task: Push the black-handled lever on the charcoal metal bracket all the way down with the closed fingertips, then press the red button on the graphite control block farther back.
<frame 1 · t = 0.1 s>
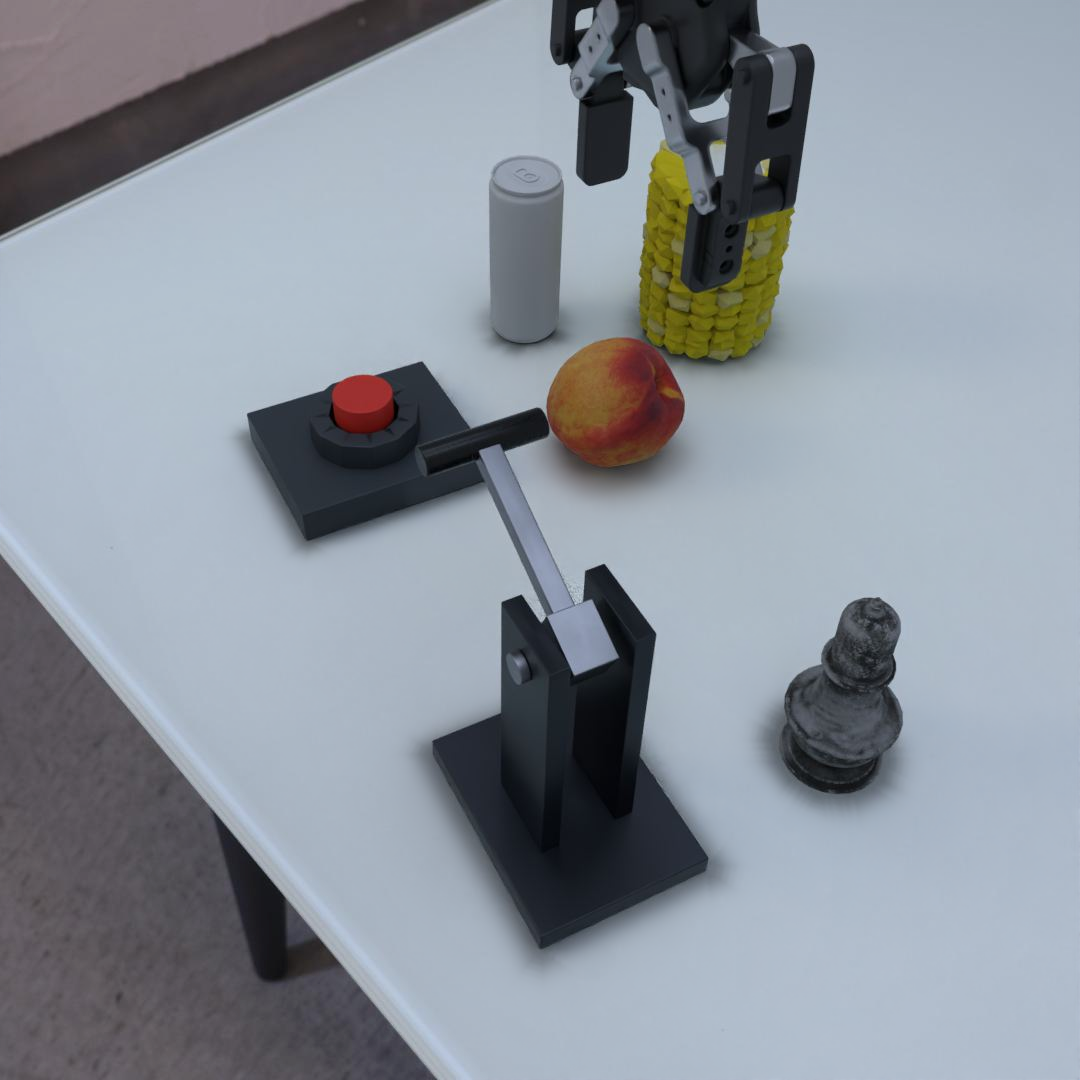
hand: (652, 229, 54), 26 cm above the table, tool pointing down, fingers open, 8 cm apart
fruit: (609, 453, 83), on the table
lever: (531, 547, 57), point 15 cm above the table, hinge at 25.0°
beverage can: (523, 328, 92), on the table
control block: (368, 459, 82), on the table
bracket: (565, 810, 65), on the table
button: (363, 404, 79), point 4 cm above the table, slide at 0.1 cm
food: (701, 333, 92), on the table
black chess piece: (829, 752, 68), on the table
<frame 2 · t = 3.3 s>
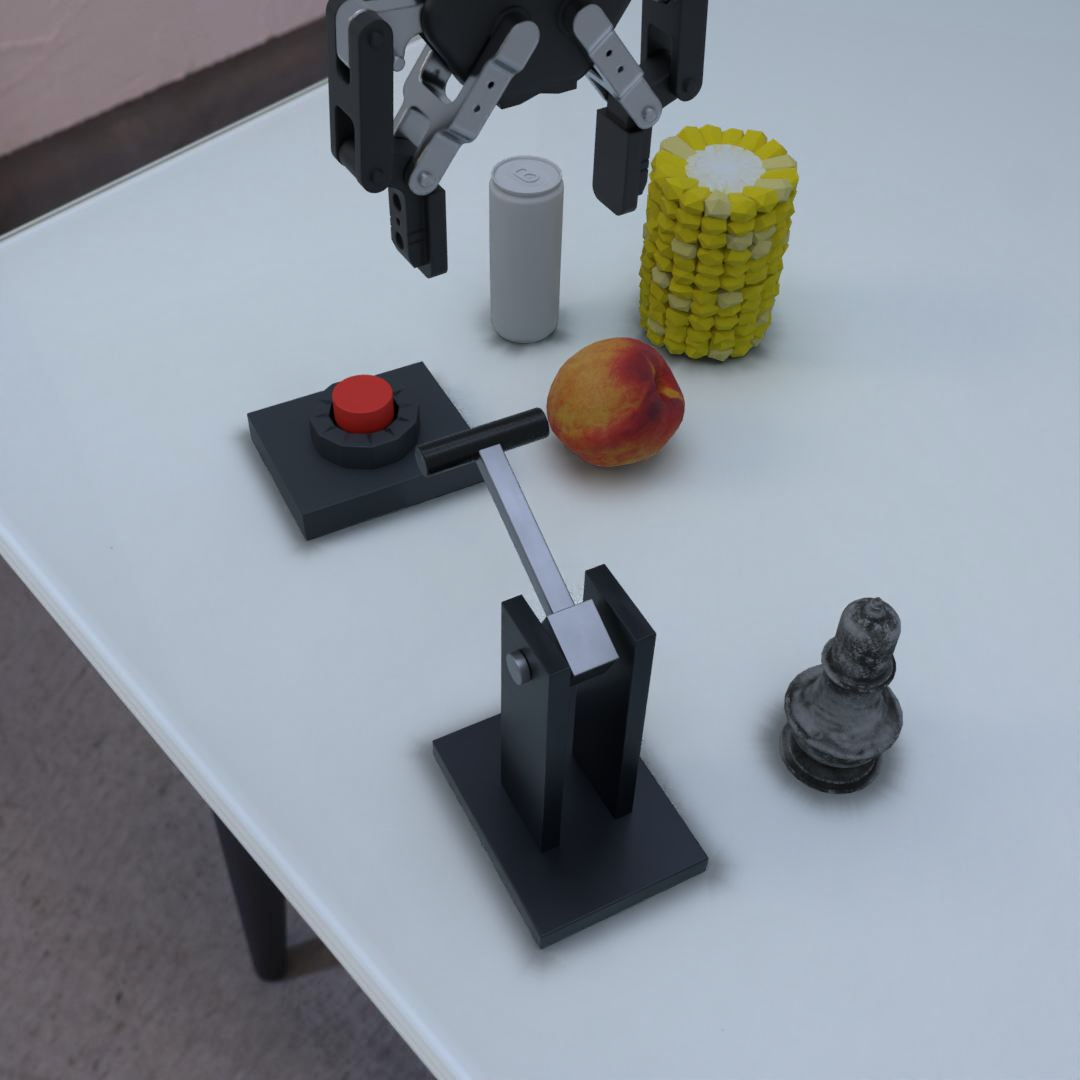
hand: (522, 234, 51), 28 cm above the table, tool pointing down, fingers open, 8 cm apart
nothing on the table moved.
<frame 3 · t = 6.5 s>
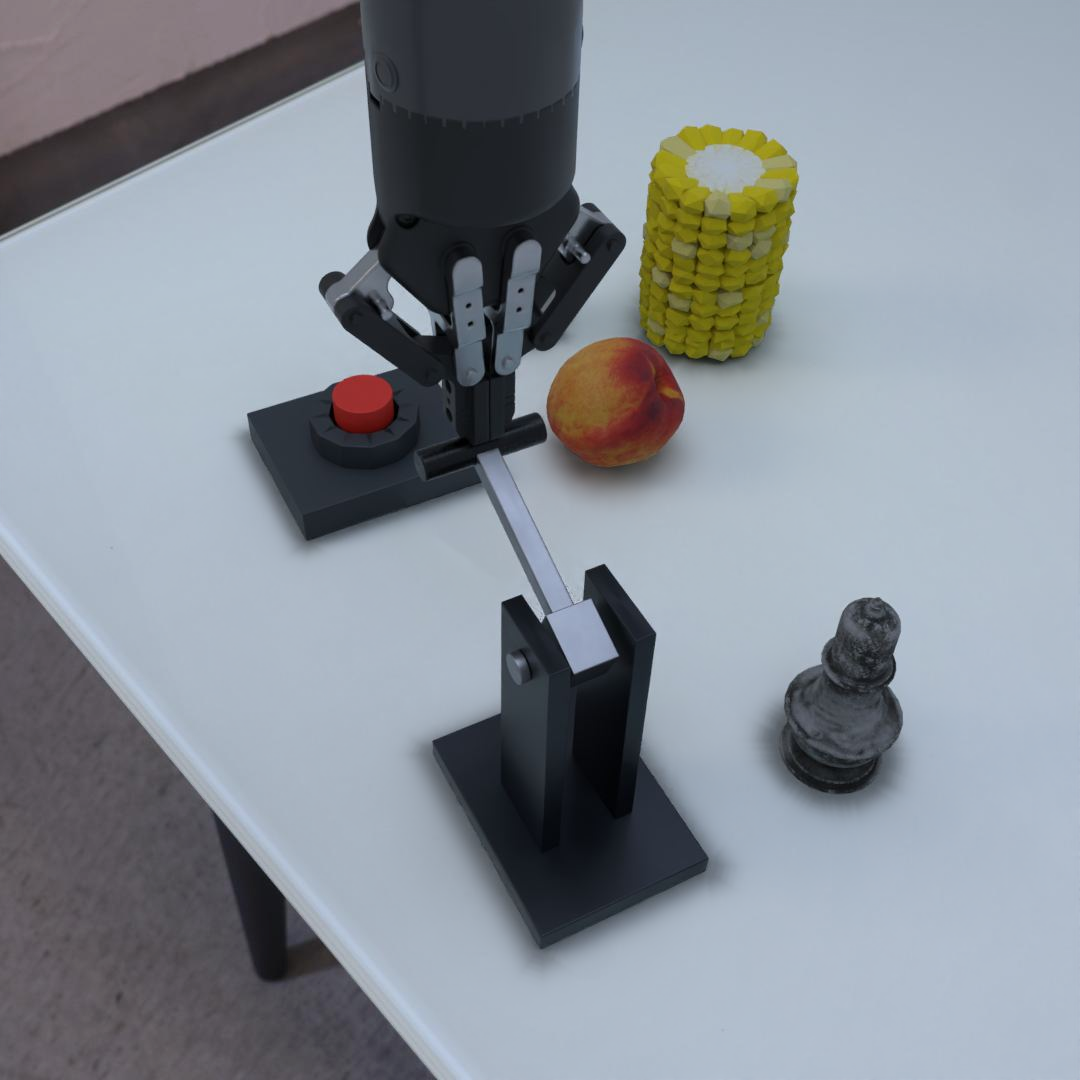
hand: (478, 430, 58), 18 cm above the table, tool pointing down, fingers closed
lever: (530, 549, 57), point 15 cm above the table, hinge at 22.2°, touching gripper
everything else where it was.
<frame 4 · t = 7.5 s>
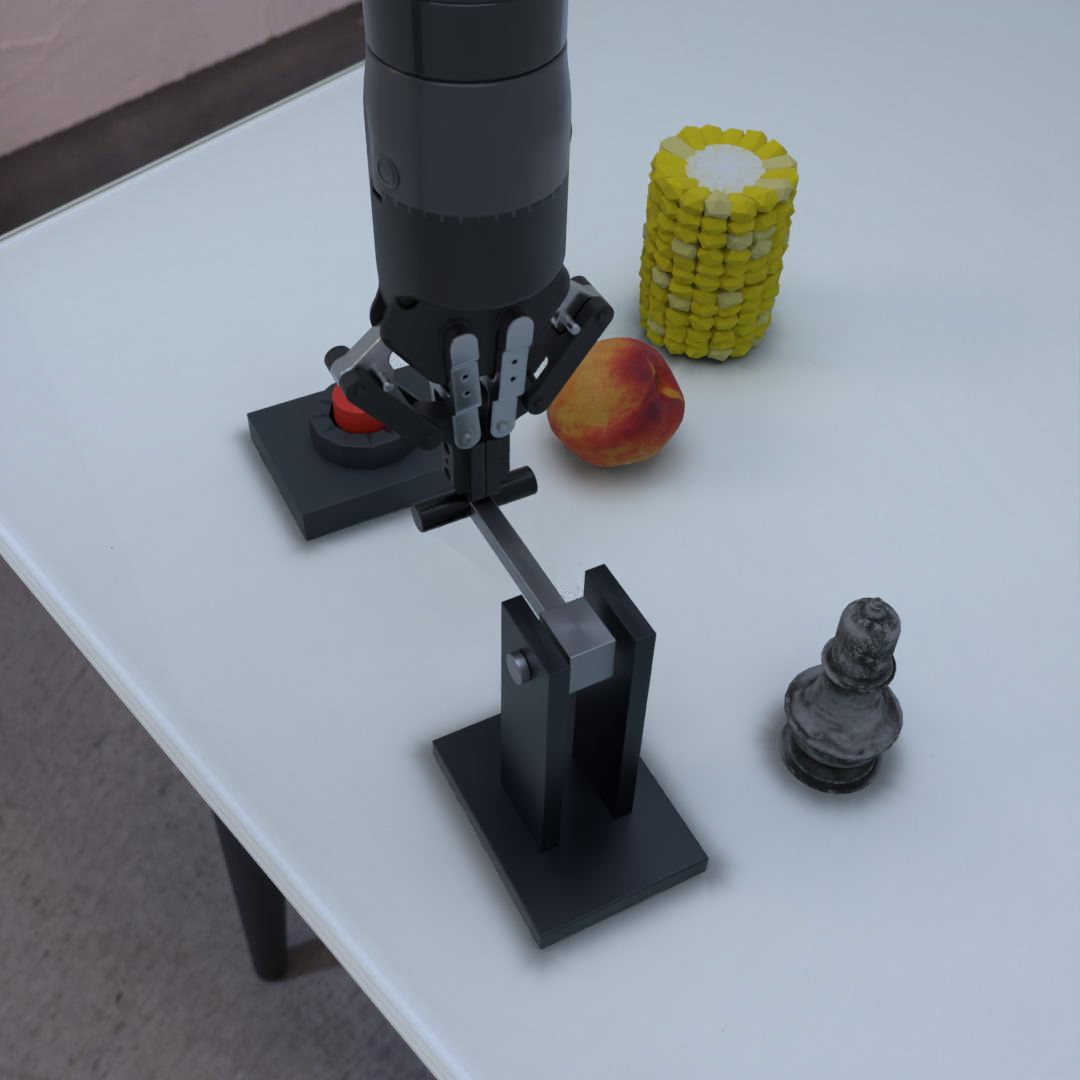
hand: (475, 486, 61), 14 cm above the table, tool pointing down, fingers closed
lever: (526, 572, 58), point 13 cm above the table, hinge at -0.9°, touching gripper
everything else where it was.
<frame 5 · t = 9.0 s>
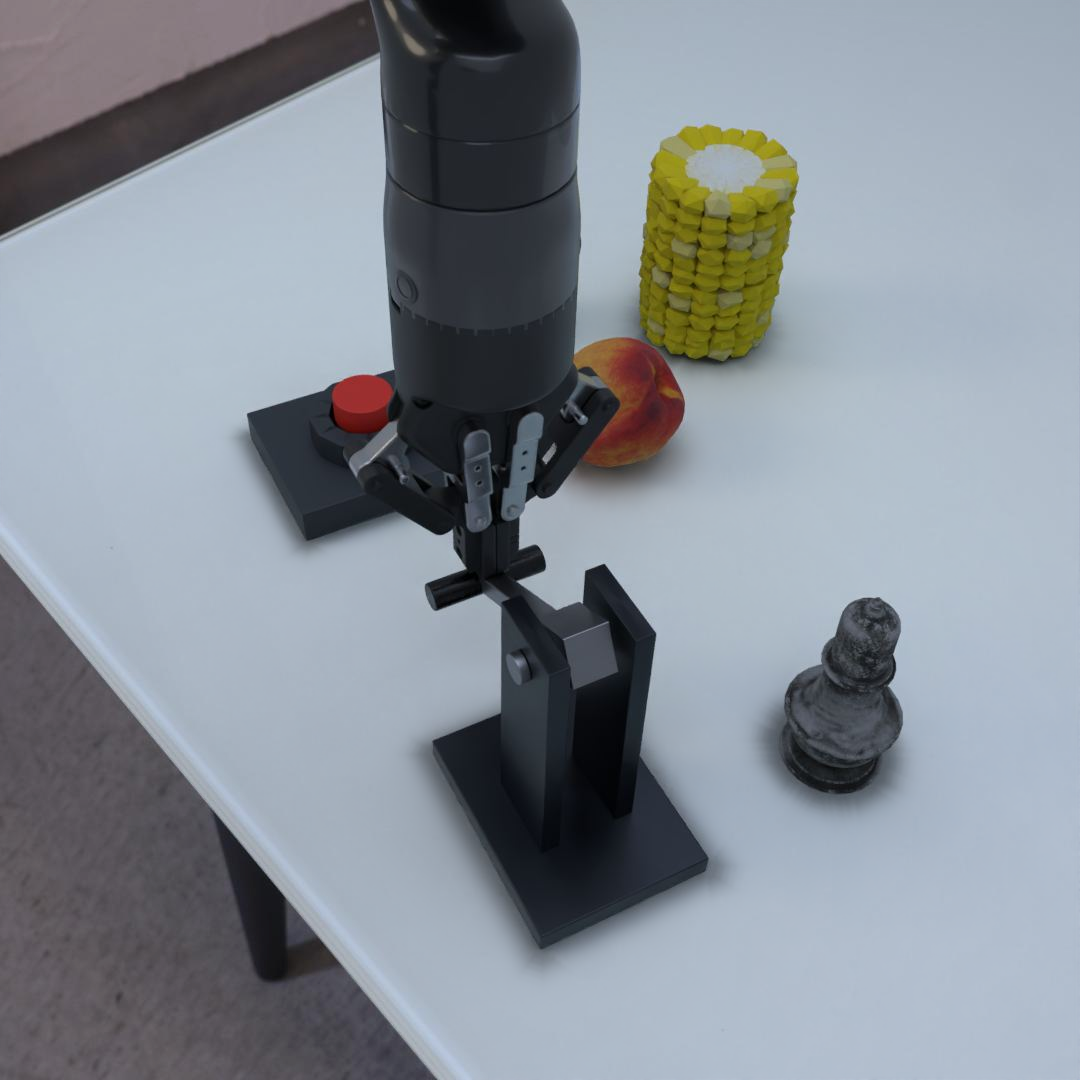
hand: (485, 563, 64), 9 cm above the table, tool pointing down, fingers closed
lever: (530, 610, 60), point 11 cm above the table, hinge at -27.2°, touching gripper
everything else where it was.
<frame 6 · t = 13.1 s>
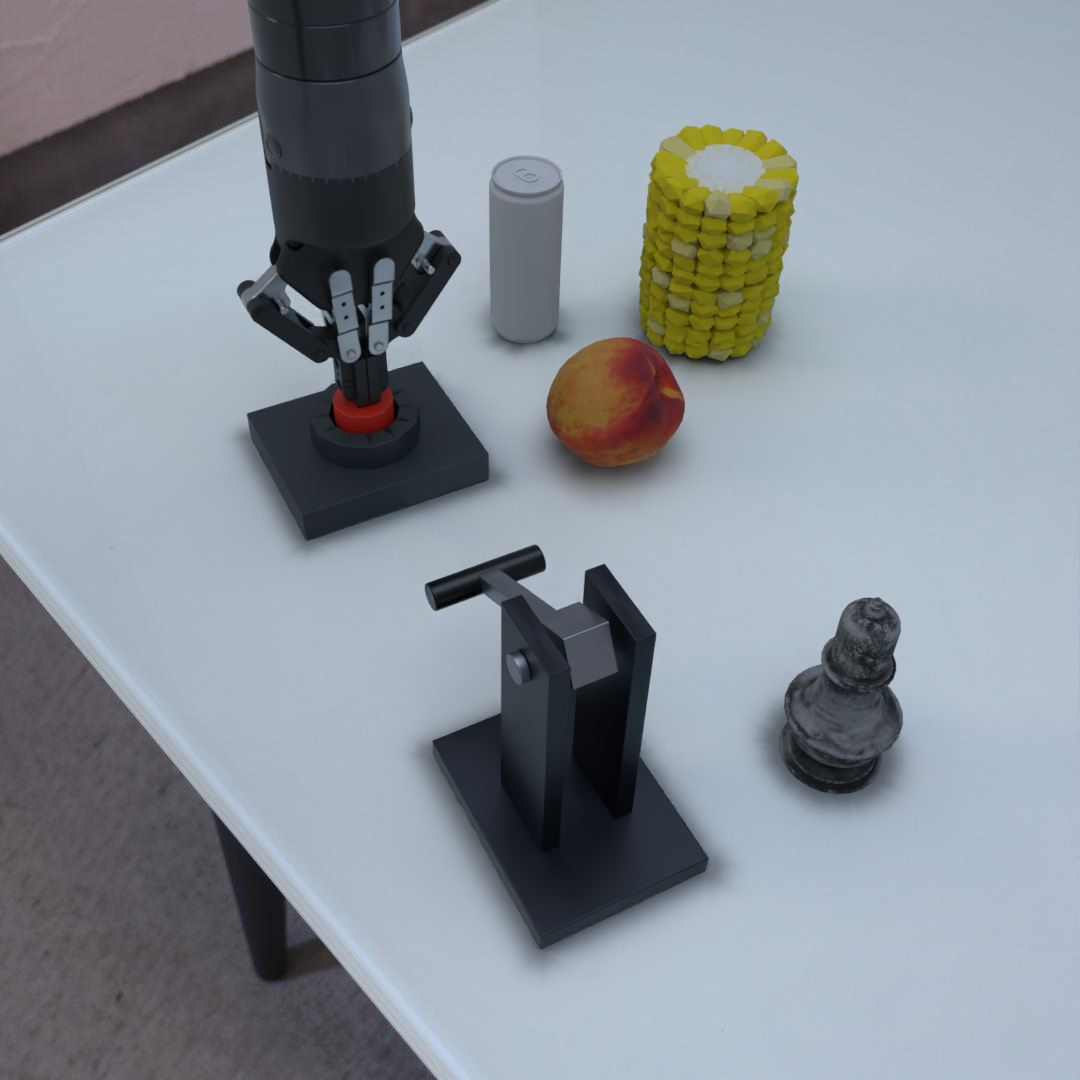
hand: (362, 396, 79), 5 cm above the table, tool pointing down, fingers closed
lever: (530, 610, 60), point 11 cm above the table, hinge at -27.2°
button: (363, 408, 79), point 4 cm above the table, slide at -0.2 cm, touching gripper
everything else where it was.
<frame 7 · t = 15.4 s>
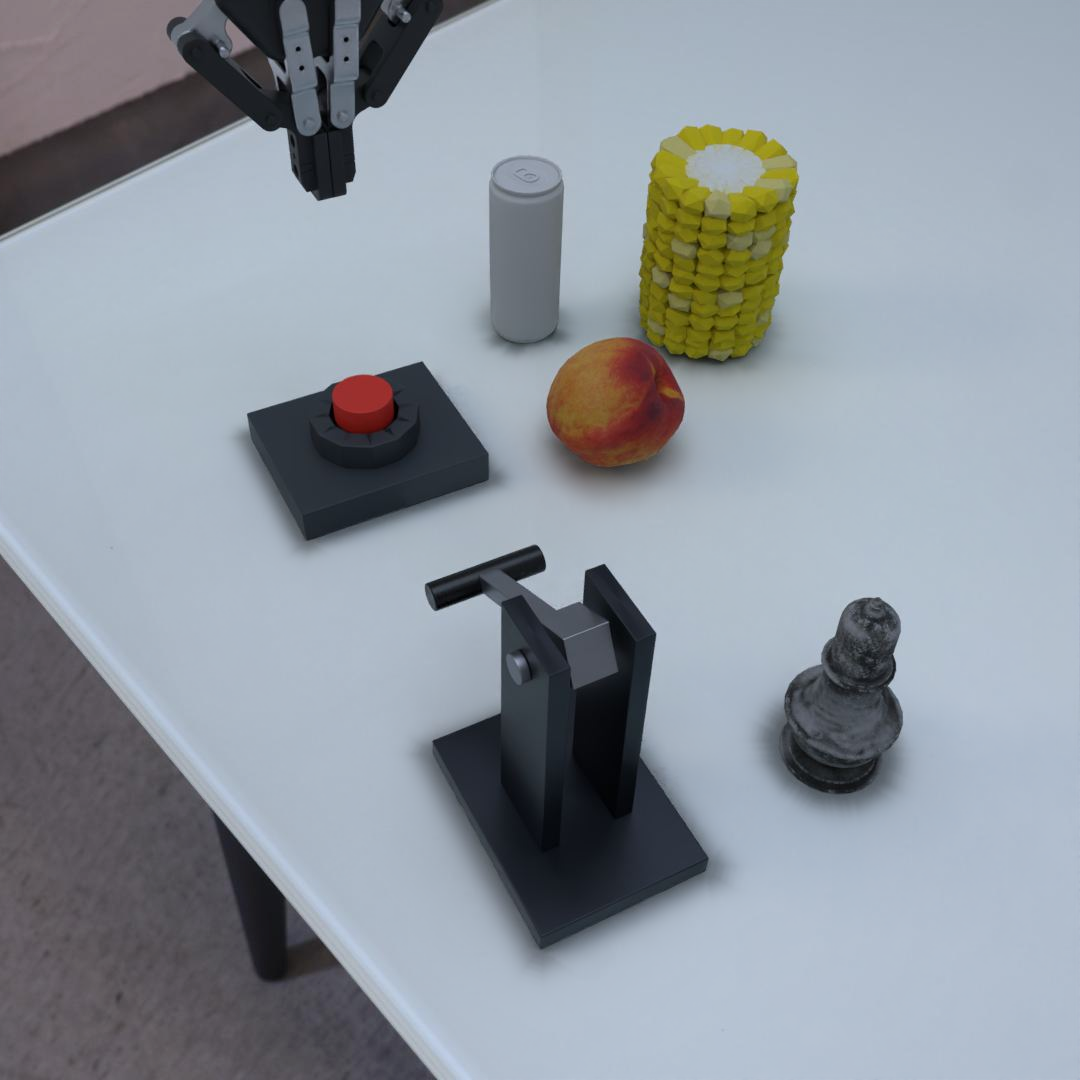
hand: (325, 190, 65), 21 cm above the table, tool pointing down, fingers closed
button: (363, 404, 79), point 4 cm above the table, slide at 0.1 cm
everything else where it was.
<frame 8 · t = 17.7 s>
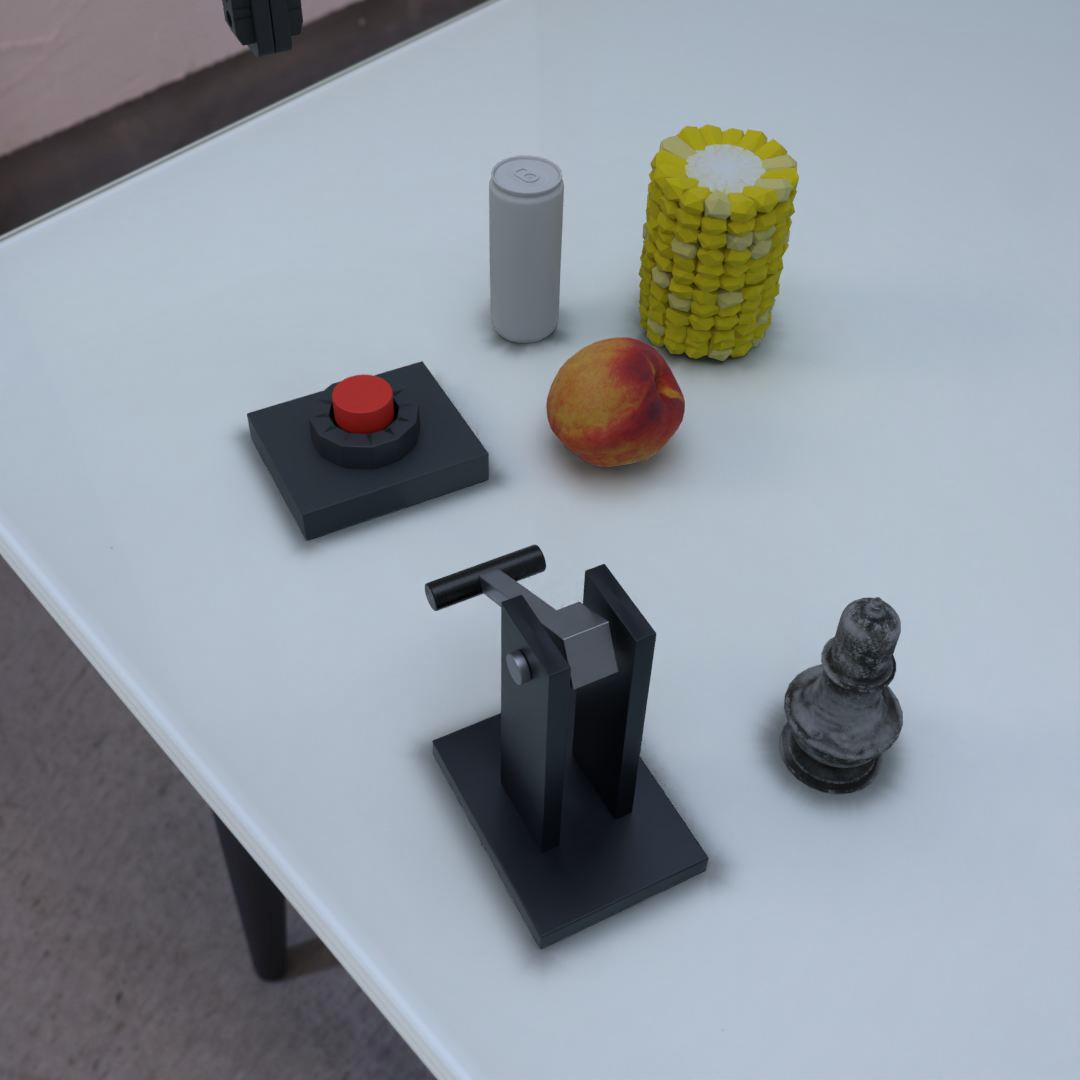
hand: (266, 46, 54), 31 cm above the table, tool pointing down, fingers closed
nothing on the table moved.
at the end: lever at -27° (first picture: +25°); button pushed in 1.1 cm at the most during the clip, back to where it started at the end; button slide at 0.1 cm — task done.
